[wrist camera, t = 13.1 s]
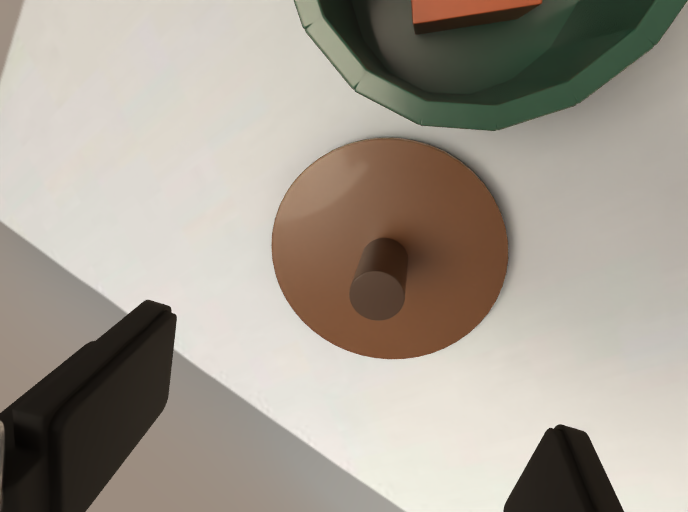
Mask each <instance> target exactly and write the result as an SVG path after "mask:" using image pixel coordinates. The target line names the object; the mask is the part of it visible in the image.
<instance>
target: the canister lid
mask: <svg viewBox="0 0 688 512" xmlns="http://www.w3.org/2000/svg"><path fill="white" fill-rule="evenodd" d="M272 259H273V265H274V269H275V274H276V277H277V280H278V283H279V285H280V288H281V290H282V292H283V294H284V296H285V298H286V300H287V301H288V303H289V304H290V306H291V307H292V309H293V310H294V311H295V313H296V314H297V315H298V316H299V317H300V319H301V320H302V321H303V322H304V323H305V324H306V325H307V326H308V327H310V328H311V329H312V330H313V331H314V332H316V333H317V334H318V335H320V336H321V337H322V338H324V339H325V340H327V341H329V342H331V343H332V344H334V345H336V346H338V347H340V348H343V349H345V350H347V351H350V352H353V353H356V354H359V355H363V356H368V357H373V358H382V359H406V358H413V357H419V356H423V355H427V354H431V353H433V352H436V351H439V350H441V349H444V348H446V347H448V346H450V345H451V344H453V343H455V342H457V341H458V340H460V339H461V338H463V337H464V336H466V335H467V334H468V333H470V332H471V331H472V330H473V329H474V328H475V327H476V326H477V325H478V324H479V323H480V322H481V321H482V320H483V319H484V317H485V316H486V315H487V314H488V313H489V311H490V309H491V308H492V306H493V305H494V303H495V301H496V300H497V297H498V295H499V293H500V291H501V288H502V286H503V282H504V279H505V275H506V271H507V263H508V240H507V234H506V228H505V225H504V221H503V218H502V215H501V212H500V210H499V208H498V206H497V204H496V202H495V200H494V198H493V196H492V195H491V193H490V192H489V190H488V189H487V187H486V186H485V185H484V183H483V182H482V181H481V180H480V179H479V178H478V177H477V175H476V174H475V173H474V172H473V171H472V170H471V169H469V168H468V167H467V166H466V165H465V164H463V163H462V162H461V161H460V160H458V159H456V158H455V157H453V156H452V155H450V154H448V153H447V152H445V151H443V150H440V149H438V148H436V147H434V146H431V145H429V144H425V143H422V142H418V141H415V140H409V139H402V138H373V139H365V140H361V141H357V142H353V143H349V144H346V145H344V146H342V147H339V148H337V149H334V150H332V151H331V152H329V153H327V154H326V155H324V156H322V157H320V158H319V159H318V160H316V161H315V162H314V163H313V164H311V165H310V166H309V167H308V168H306V169H305V170H304V171H303V172H302V173H301V174H300V176H299V177H298V178H297V179H296V180H295V181H294V182H293V184H292V185H291V187H290V188H289V189H288V191H287V192H286V194H285V196H284V198H283V200H282V202H281V204H280V206H279V209H278V212H277V215H276V218H275V222H274V227H273V232H272Z"/></svg>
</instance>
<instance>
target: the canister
mask: <svg viewBox="0 0 688 512" xmlns="http://www.w3.org/2000/svg"><path fill="white" fill-rule="evenodd" d="M687 1H688V0H542V4H540V5H539V6H537V7H536V8H534V9H532V10H531V11H529V12H528V13H526V14H524V15H523V16H521V17H520V18H518V19H514V20H508V21H502V22H495V23H489V24H482V25H476V26H469V27H463V28H456V29H450V30H443V31H437V32H430V33H424V34H417V35H416V34H415V31H414V27H413V20H412V5H411V0H294V3H295V6H296V9H297V12H298V15H299V18H300V20H301V23H302V26H303V28H304V29H305V31H306V33H307V34H308V36H309V37H310V38H311V39H312V40H313V42H314V43H315V44H316V45H317V47H318V48H319V49H320V50H321V51H322V53H323V54H324V55H325V56H326V57H327V59H328V60H329V61H330V62H331V64H332V65H333V66H334V67H335V68H336V70H337V71H338V72H339V73H340V74H341V76H342V77H343V78H344V79H345V81H346V82H347V83H348V84H349V85H350V87H351V88H352V89H355V92H357V93H359V94H361V95H363V96H365V97H367V98H368V99H370V100H372V101H374V102H376V103H378V104H380V105H382V106H384V107H386V108H388V109H389V110H391V111H393V112H395V113H397V114H399V115H401V116H403V117H405V118H407V119H409V120H410V121H412V122H414V123H416V124H419V125H421V126H434V127H448V128H462V129H476V130H489V131H496V130H501V129H504V128H507V127H510V126H513V125H516V124H520V123H523V122H526V121H529V120H532V119H535V118H538V117H542V116H545V115H548V114H551V113H554V112H557V111H560V110H564V109H567V108H570V107H573V106H575V105H576V104H578V103H581V102H582V101H583V100H585V99H586V98H587V97H589V96H590V95H591V94H593V93H594V92H595V91H596V90H598V89H599V88H600V87H602V86H603V85H604V84H606V83H607V82H608V81H610V80H611V79H612V78H614V77H615V76H616V75H618V74H619V73H620V72H622V71H623V70H624V69H626V68H627V67H628V66H630V65H631V64H632V63H634V62H635V61H636V60H638V59H639V58H640V57H642V56H643V55H644V54H646V53H647V52H648V51H649V50H651V49H652V48H653V47H654V45H656V44H657V43H658V42H659V41H660V39H661V38H662V36H663V35H664V34H665V32H666V31H667V29H668V28H669V26H670V25H671V24H672V22H673V21H674V19H675V18H676V16H677V15H678V14H679V12H680V11H681V9H682V8H683V7H684V5H685V4H686V2H687Z"/></svg>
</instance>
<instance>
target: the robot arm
mask: <svg viewBox="0 0 688 512" xmlns="http://www.w3.org/2000/svg"><path fill="white" fill-rule="evenodd" d="M176 321H177V317H176V314H173V313H171V307H170V306H167V305H164V304H161V303H158V302H154V301H151V300H146V301H144V302H142V303H141V304H140V305H139V306H138V307H136V308H135V309H134V310H133V311H131V312H130V313H129V314H128V315H127V316H125V317H124V318H123V319H122V320H121V321H119V322H118V323H117V324H116V325H114V326H113V327H112V328H111V329H109V330H108V331H107V332H106V333H105V334H103V335H102V336H101V337H100V338H98V339H97V340H96V341H92V342H89V343H88V344H86V345H84V346H83V347H82V348H81V349H79V350H78V351H77V352H76V353H75V354H73V355H72V356H71V357H69V358H68V359H67V360H66V361H64V362H63V363H62V364H61V365H60V366H58V367H57V368H56V369H55V370H53V371H52V372H51V373H50V374H48V375H47V376H46V377H45V378H43V379H42V380H41V381H40V382H38V383H37V384H36V385H35V386H33V387H32V388H31V389H30V390H28V391H27V392H26V393H25V394H24V395H22V396H21V397H20V398H19V399H17V400H16V401H15V402H14V403H12V404H11V405H10V406H9V407H7V408H6V409H5V410H4V411H2V412H1V413H0V512H85V511H86V510H87V509H88V508H89V506H90V505H91V504H92V502H93V501H94V500H95V499H96V497H97V496H98V495H99V493H100V492H101V491H102V489H103V488H104V487H105V485H106V484H107V483H108V482H109V480H110V479H111V478H112V476H113V475H114V474H115V472H116V471H117V470H118V469H119V467H120V466H121V465H122V463H123V462H124V461H125V459H126V458H127V457H128V456H129V454H130V453H131V452H132V450H133V449H134V448H135V446H136V445H137V444H138V442H139V441H140V440H141V439H142V437H143V436H144V435H145V433H146V432H147V431H148V429H149V428H150V427H151V425H152V424H153V423H154V422H155V420H156V419H157V418H158V416H159V415H160V414H161V412H162V411H163V409H164V407H165V405H166V403H167V400H168V394H169V385H170V376H171V366H172V357H173V348H174V339H175V330H176ZM503 512H624V511H623V509H622V506H621V504H620V502H619V500H618V498H617V496H616V494H615V491H614V489H613V487H612V485H611V483H610V481H609V479H608V477H607V474H606V472H605V470H604V468H603V466H602V464H601V462H600V460H599V457H598V455H597V453H596V451H595V449H594V447H593V445H592V443H591V440H590V438H589V436H588V435H587V433H586V432H584V431H581V430H578V429H575V428H571V427H568V426H565V425H557V426H556V427H555V428H554V429H553V428H549V429H547V431H546V432H545V434H544V436H543V437H542V439H541V441H540V443H539V444H538V446H537V448H536V450H535V452H534V453H533V455H532V457H531V459H530V460H529V462H528V464H527V466H526V467H525V469H524V471H523V473H522V475H521V476H520V478H519V480H518V482H517V483H516V485H515V487H514V489H513V490H512V492H511V494H510V496H509V498H508V499H507V501H506V503H505V506H504V511H503Z"/></svg>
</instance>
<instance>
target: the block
mask: <svg viewBox="0 0 688 512" xmlns="http://www.w3.org/2000/svg"><path fill="white" fill-rule="evenodd" d="M540 4H542V0H411V5H412V20H413V27H414V31H415V34H416V35H417V34H424V33H430V32H437V31H443V30H450V29H456V28H463V27H469V26H476V25H482V24H489V23H495V22H502V21H508V20H514V19H518V18H520V17H521V16H523V15H524V14H526V13H528V12H529V11H531V10H532V9H534V8H536V7H537V6H539V5H540Z"/></svg>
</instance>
